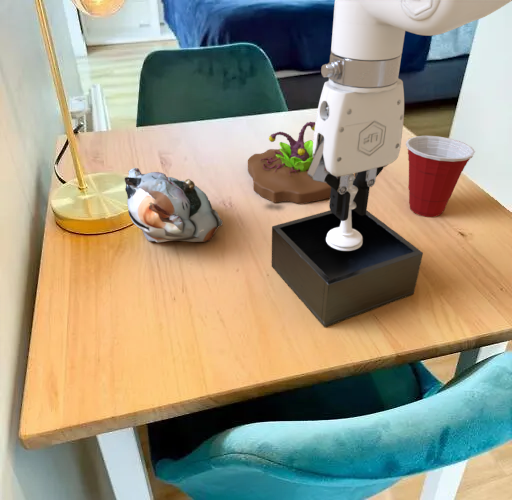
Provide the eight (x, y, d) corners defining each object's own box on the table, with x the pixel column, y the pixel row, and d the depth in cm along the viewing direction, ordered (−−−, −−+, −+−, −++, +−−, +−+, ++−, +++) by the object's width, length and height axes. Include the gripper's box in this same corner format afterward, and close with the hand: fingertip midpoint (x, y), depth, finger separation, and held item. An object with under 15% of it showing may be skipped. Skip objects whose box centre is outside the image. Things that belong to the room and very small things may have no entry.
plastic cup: (468, 205, 90) (486, 142, 83) (444, 231, 83) (460, 164, 76) (411, 187, 95) (423, 126, 88) (384, 210, 88) (394, 146, 82)
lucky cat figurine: (235, 235, 82) (213, 187, 70) (174, 278, 81) (140, 237, 68) (189, 178, 89) (162, 126, 77) (132, 217, 88) (95, 170, 75)
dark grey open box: (414, 294, 70) (423, 252, 66) (324, 327, 65) (328, 284, 61) (352, 241, 81) (357, 202, 77) (271, 266, 75) (271, 226, 71)
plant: (364, 199, 92) (372, 141, 85) (257, 207, 89) (257, 148, 83) (335, 153, 108) (340, 101, 101) (244, 159, 106) (243, 107, 99)
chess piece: (321, 245, 68) (326, 179, 62) (332, 227, 71) (338, 163, 66) (356, 254, 66) (365, 186, 60) (366, 235, 70) (376, 170, 64)
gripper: (320, 89, 50) (310, 243, 61) (443, 68, 56) (414, 212, 66) (283, 70, 55) (280, 214, 66) (399, 52, 61) (379, 187, 72)
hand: (347, 212), depth 66 cm, fingers closed on chess piece
